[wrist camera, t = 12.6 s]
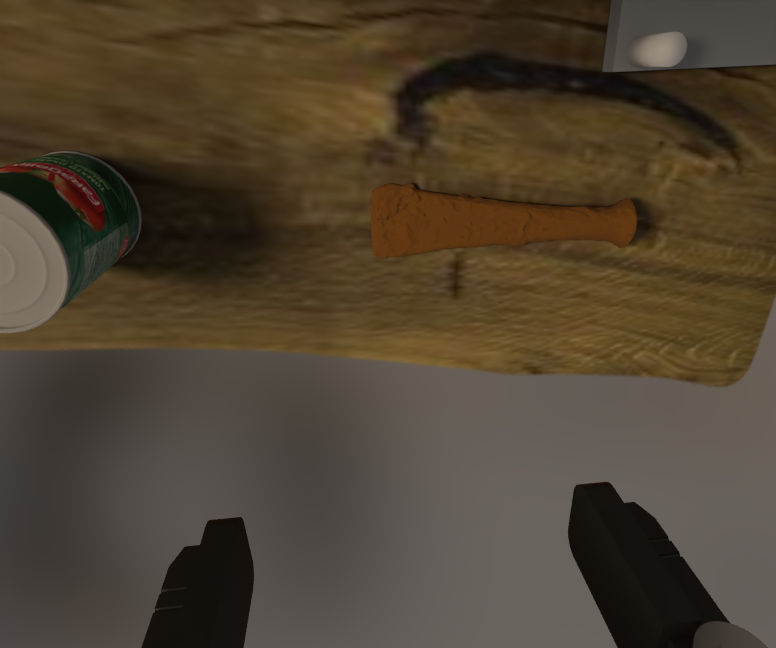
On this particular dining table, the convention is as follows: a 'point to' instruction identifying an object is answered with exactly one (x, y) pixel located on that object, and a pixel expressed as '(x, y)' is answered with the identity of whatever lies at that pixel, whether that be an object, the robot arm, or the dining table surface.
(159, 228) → the dining table surface
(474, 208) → the primitive tool
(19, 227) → the canned tomato
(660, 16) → the peg board
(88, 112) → the dining table surface
